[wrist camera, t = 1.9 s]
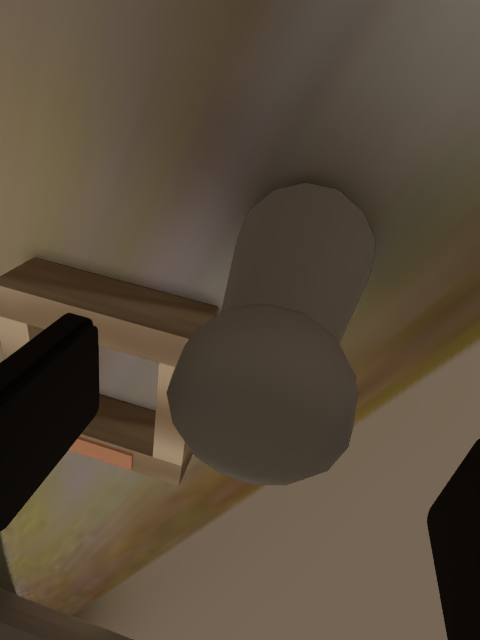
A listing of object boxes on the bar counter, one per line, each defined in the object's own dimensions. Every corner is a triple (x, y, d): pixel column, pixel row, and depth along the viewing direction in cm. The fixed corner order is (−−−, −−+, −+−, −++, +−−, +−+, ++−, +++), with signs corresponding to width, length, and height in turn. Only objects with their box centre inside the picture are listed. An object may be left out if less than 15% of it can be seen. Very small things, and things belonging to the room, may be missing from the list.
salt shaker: (391, 189, 17) (459, 373, 6) (350, 302, 20) (348, 555, 10) (260, 159, 18) (120, 282, 7) (240, 273, 21) (120, 480, 10)
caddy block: (33, 257, 24) (-15, 284, 21) (218, 307, 22) (196, 343, 19) (51, 399, 30) (17, 436, 27) (196, 444, 29) (177, 488, 26)
